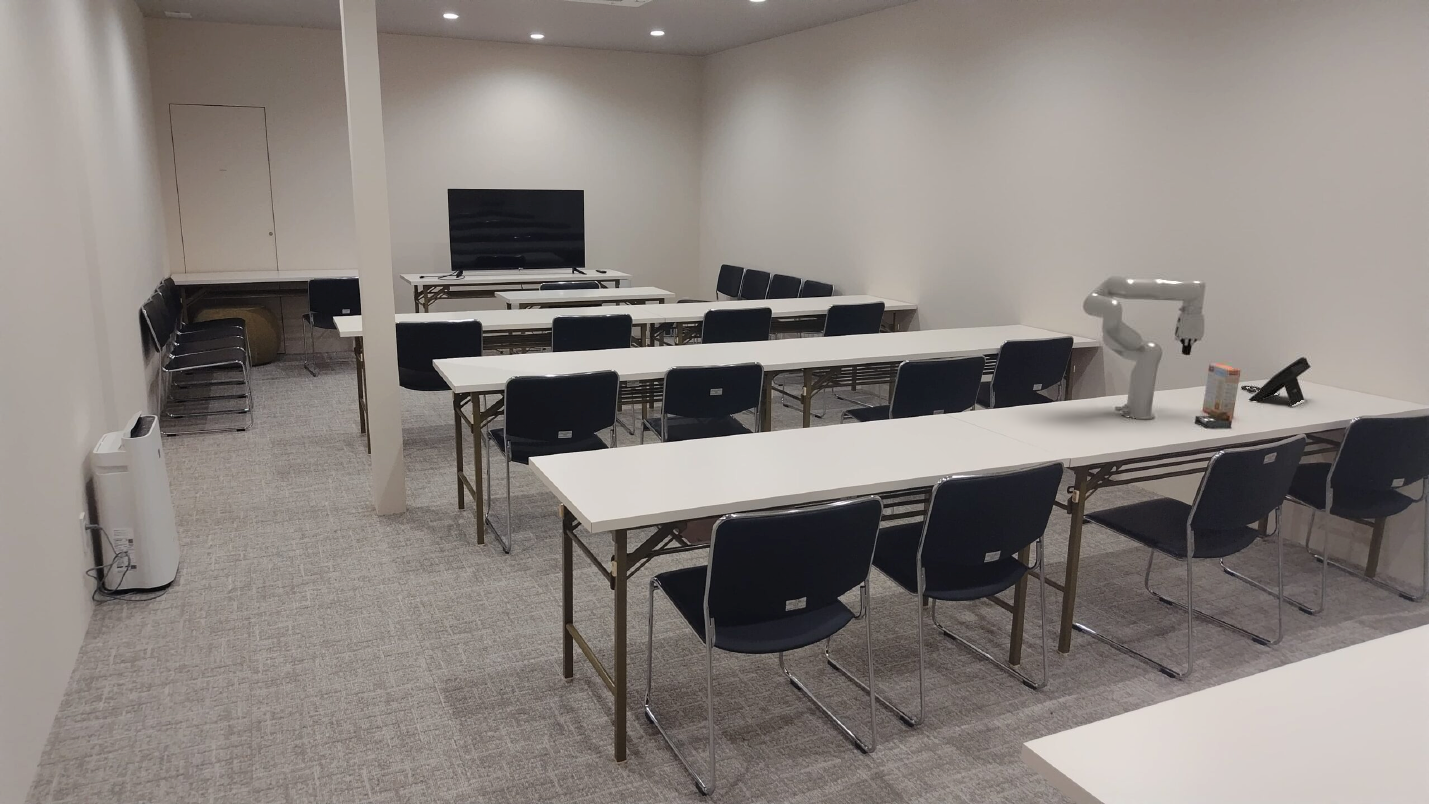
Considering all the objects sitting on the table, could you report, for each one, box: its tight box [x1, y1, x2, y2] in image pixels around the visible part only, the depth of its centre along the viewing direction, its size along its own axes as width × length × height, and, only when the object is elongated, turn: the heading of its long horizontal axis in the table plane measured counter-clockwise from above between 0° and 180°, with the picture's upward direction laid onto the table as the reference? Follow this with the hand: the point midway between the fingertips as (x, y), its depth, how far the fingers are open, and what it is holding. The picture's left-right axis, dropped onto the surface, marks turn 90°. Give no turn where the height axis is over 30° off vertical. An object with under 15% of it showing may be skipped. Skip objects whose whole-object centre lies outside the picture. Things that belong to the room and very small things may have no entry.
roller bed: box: [1194, 414, 1234, 429], centre depth 356 cm, size 10×8×5 cm
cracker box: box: [1202, 362, 1242, 420], centre depth 371 cm, size 14×6×21 cm, turn 179°
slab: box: [1209, 409, 1228, 420], centre depth 356 cm, size 4×5×3 cm
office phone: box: [1240, 356, 1311, 407], centre depth 405 cm, size 29×28×20 cm
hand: (1185, 354), depth 370 cm, fingers closed
